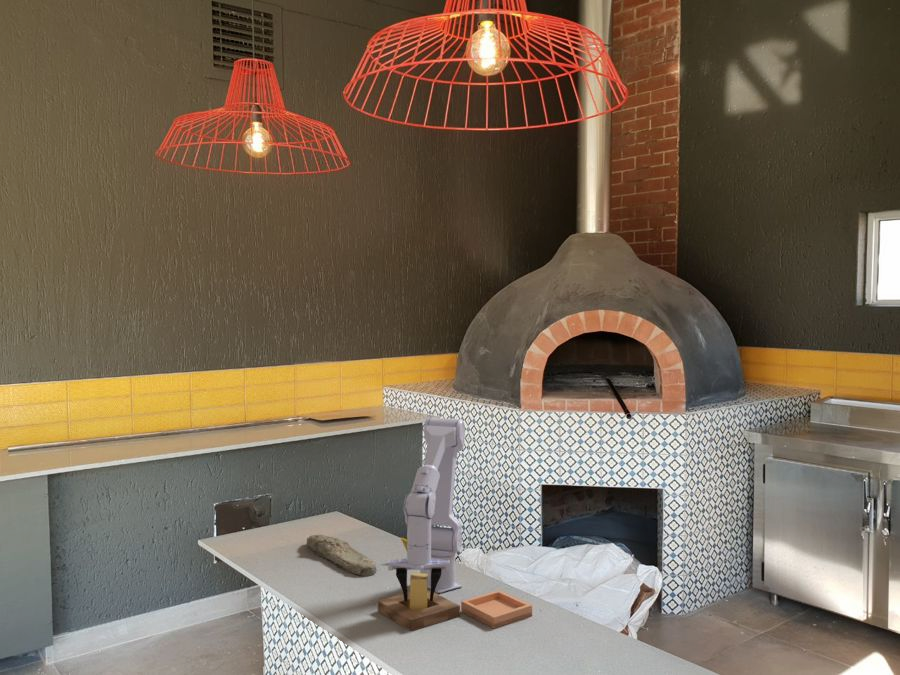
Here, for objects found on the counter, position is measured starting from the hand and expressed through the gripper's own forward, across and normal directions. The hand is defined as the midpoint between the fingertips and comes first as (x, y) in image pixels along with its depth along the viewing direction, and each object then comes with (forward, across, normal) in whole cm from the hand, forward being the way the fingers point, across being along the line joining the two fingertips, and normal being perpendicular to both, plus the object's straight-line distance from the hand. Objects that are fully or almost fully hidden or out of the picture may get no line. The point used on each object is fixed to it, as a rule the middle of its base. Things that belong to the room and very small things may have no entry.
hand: (418, 599), depth 179 cm
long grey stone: (+4, -24, +39) cm, 46 cm away
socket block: (+3, 0, 0) cm, 3 cm away
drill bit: (+4, -3, +37) cm, 37 cm away
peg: (+3, 0, 0) cm, 3 cm away
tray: (+3, +19, 0) cm, 19 cm away
